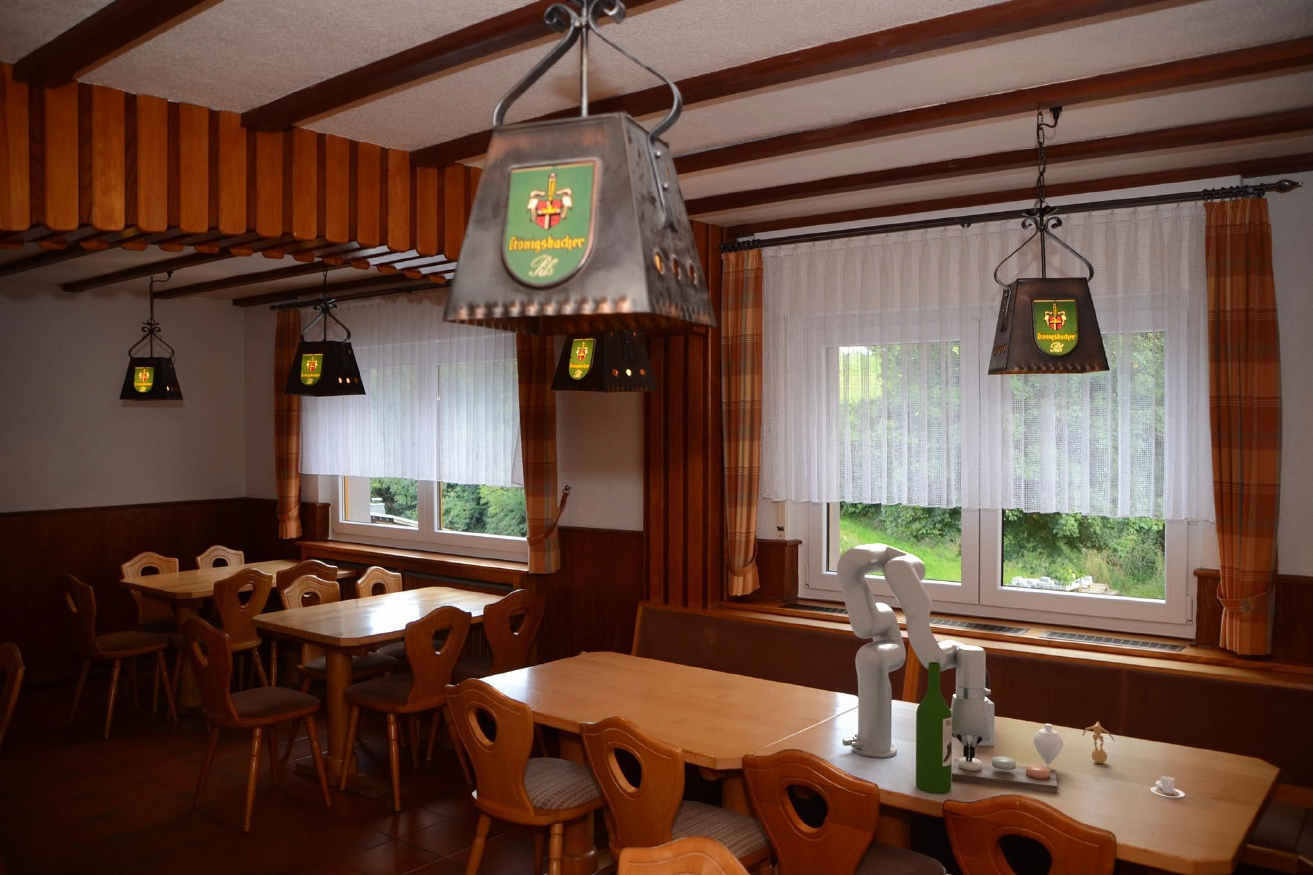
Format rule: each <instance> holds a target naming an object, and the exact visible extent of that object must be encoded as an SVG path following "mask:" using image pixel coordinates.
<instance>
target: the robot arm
mask: <svg viewBox="0 0 1313 875" xmlns="http://www.w3.org/2000/svg"><path fill="white" fill-rule="evenodd" d="M873 573H882V574H883V576H884V579H885V581H886V582H887V584H888V587H889V588H890V590H891V592H892V594H893V596H894V598H895V599H896V602H897V603H898V605H899V606H900V608H901V610H902V612H903V613H904V616H905V626H906V631H907V632H906V633H907V637H908V640H909V643H910V647H911V648H912V650H913V652H914V653H915V655H916V657H917V659H918V660H919V661H920V663H921V665H922V666H923V667H924V668H925V670H927V671H928V665H929V664H928V663H930V662H937V663H940V673H941V672H944V671H946V670H948V669H955V668H956V669H955V670H956V672H955V674H956V687H955V693H954V694H953V695H952V698H951V699H952V700H951V706H950V710H951V714H952V738H955V739H957V740H959V742H960V743H961V744H962V746H963V752H962V756H963V757H962V758H966V761H970V762H972V758H975V759H976V746H979V745H978V744H979V743H980V742H981V741H989V740H990V733H989V729H990V714H989V703H988V698H986V697H985V696H986V695H989V696H990V695H991V694H992V692H991V691H992V690H991V689H990V690H988V689H986V688H985V670H986V669H987V668H986V662H987V661H986V660H987V658H986V657H987V656H986V655H987V654H986V650H985V649H984V648H983V647H980V646H977V645H967V644H964V643H960V642H957V641H955V640H951V639H947V640H946V639H945V640H942V641H939V642H938V640H936V638H935V636H934V633H933V632H932V629H931V625H930V614H931V611H932V608H933V605H934V604H933V600H932V597H930V595H929V593H928V592H927V590H926V588H925V586H924V585H923V582H922V581H923V579H924V578H925V576H926V573H927V572H926V567H925V564H924V562H923V561H922V560H921V559H920V558H919V557H917V556H915V555H914V554H912V553H911V554H910V553H909V552H906V551H903V550H900V549H898V548H895V547H892V546H890V545H887V544H884V543H869V544H860V545H856V546H853V547H850V548H848V549H847V550H846V551H844V553H842V554H841V556H840V557H839V559H838V561H837V566H836V575H837V580H838V582H839V585H840V586H839V587H840V589H841V592H842V595H843V599H844V604H845V607H846V610H847V611H846V612H847V614H848V620H849V622H850V627H851V629H852V632H853V634H854V635H855V636H856V637H858V638H861V639H871V638H872V642H868V643H866V644H864V645H863V646H860V648H859V649H858V650H857V652H856V655H855V660H854V661H855V669H856V674H857V685H858V686H857V689H858V690H857V691H858V692H857V697H858V698H857V699H858V700H857V702H858V703H857V707H858V708H857V710H858V711H857V712H858V713H857V715H858V717H857V722H858V723H857V733H855V734H854V736H853V737H852V738H843V739H842V745H843V746H844V747H845V746H846V747H847V746H850V747H851V748H852V751H853V752H854V753H856V754H858V755H861V756H864V757H869V758H877V759H878V758H882V759H883V758H891V757H893V756H895V755H897V754H898V753H897V752H898V749H897V747H896V746H895V745H893V744H892V716H893V715H892V714H893V713H892V707H893V705H892V703H893V702H892V701H893V699H892V695H893V694H892V684H891V681H890V677H889V673H891V672H894V671H897V670H899V669H900V668H902V667H903V666H904V663H905V662H906V658H907V653H906V647H905V644H904V639H903V637H902V636H903V635H902V632H901V629H900V625H899V622H898V617H897V615H896V614H895V611H893V608H891V607H890V606H889V605H887V604H886V603H883V602H876V601H875V598H874V594H873V593H874V592H873V590H872V587H871V584H870V583H869V581H868V580H867V579H866V575H867V574H873ZM967 735H972V736H973V738H972V742H971V743H970V744H969V743H968V741H967Z"/></svg>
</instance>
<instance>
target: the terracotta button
mask: <svg viewBox="0 0 1313 875" xmlns="http://www.w3.org/2000/svg"><path fill="white" fill-rule="evenodd" d="M1025 767H1026V775H1028V776H1030V777H1033V778H1039V779H1046V778H1049V777H1050V770H1051V769H1050V767H1049V768H1048V767H1047V766H1044V765H1038V764H1029V765H1026V766H1025Z"/></svg>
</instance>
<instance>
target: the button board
mask: <svg viewBox="0 0 1313 875" xmlns="http://www.w3.org/2000/svg"><path fill="white" fill-rule="evenodd" d="M959 759H960V758H953V765H952V768H951V782H957V783H966V784H972V785H982V786H989V787H996V788H997V787H998V788H1005V789H1013V788H1015V789H1014V790H1022V791H1023V790H1024V791H1029V790H1031V792H1038V793H1048V794H1055V795H1058V782H1057V775H1056V770H1055V769H1050V777H1049V778H1046V779H1039V778H1033V777H1030V776H1028V775H1026V766H1023V765H1022V766H1021V765H1016V768H1015V769H1013V770H1002V769H997V768H995V767H993V766H992V762H986V761H985V762H984V761H982V769H981V770H978V771H970V770H965V769H962V768H960V767H959Z"/></svg>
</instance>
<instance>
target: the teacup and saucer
mask: <svg viewBox="0 0 1313 875" xmlns="http://www.w3.org/2000/svg"><path fill="white" fill-rule="evenodd" d="M1175 782H1176V779H1175V778H1174V777H1172V776H1169V775H1168V776H1167V775H1163V776H1161V777H1160V780H1159V779H1157V781H1155V783H1154V784H1155V786H1152V787H1151V788H1150V792H1151V793H1153V794H1156V795H1157V796H1161V797H1164V798H1172V799H1179V798H1183V797H1184V798H1185V796H1186V793H1185V792H1184V791H1183V790H1180V789H1177V788H1175V787H1176V786H1175V784H1176V783H1175ZM1159 789H1160V790H1162V792H1163V793H1164V794H1168V795H1164V794H1161V793H1158V792H1157V791H1156V790H1159ZM1174 792H1177V793H1178V794H1179V795H1173V796H1172V794H1174ZM1170 795H1171V796H1170Z"/></svg>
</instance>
